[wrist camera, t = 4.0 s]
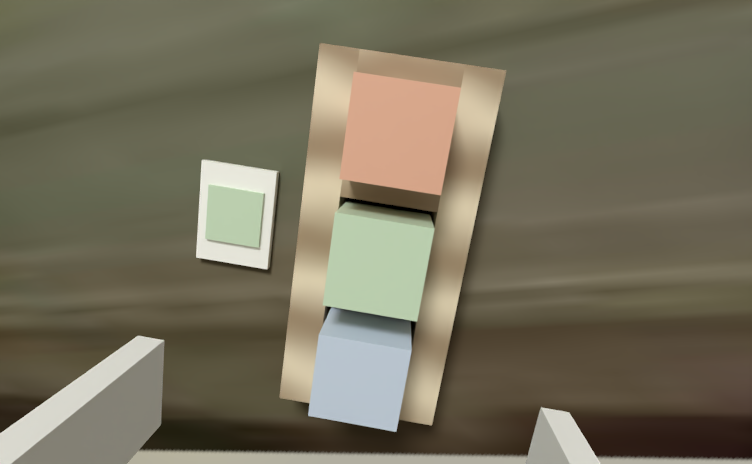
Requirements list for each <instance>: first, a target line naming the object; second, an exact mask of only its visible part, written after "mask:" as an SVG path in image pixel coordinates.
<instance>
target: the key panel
mask: <svg viewBox="0 0 752 464" xmlns="http://www.w3.org/2000/svg"><path fill="white" fill-rule="evenodd" d="M353 72H360V73H366V74H373V75H380V76H386V77H393V78H400V79H406V80H413V81H420V82H426V83H433V84H440V85H446V86H453V87H460V88H461V91H460V97H459V102H458V107H457V113H456V118H455V123H454V129H453V134H452V139H451V145H450V150H449V155H448V160H447V166H446V171H445V176H444V182H443V187H442V192H441V195H435V194H429V193H423V192H417V191H411V190H404V189H398V188H392V187H386V186H379V185H373V184H367V183H361V182H355V181H348V180H342V179H339V178H340V171H341V163H342V155H343V148H344V140H345V133H346V125H347V118H348V110H349V103H350V95H351V88H352V80H353ZM505 75H506V71H505V70H499V69H492V68H485V67H478V66H472V65H465V64H458V63H451V62H444V61H438V60H431V59H424V58H417V57H411V56H404V55H397V54H390V53H384V52H377V51H370V50H363V49H357V48H350V47H343V46H336V45H330V44H323V43H320V46H319V55H318V64H317V73H316V81H315V90H314V99H313V108H312V117H311V125H310V134H309V143H308V152H307V161H306V169H305V178H304V187H303V196H302V205H301V213H300V222H299V231H298V240H297V248H296V257H295V266H294V275H293V284H292V292H291V301H290V310H289V319H288V328H287V336H286V345H285V354H284V363H283V372H282V380H281V389H280V398H284V399H289V400H294V401H300V402H305V403H310V397H311V389H312V382H313V374H314V367H315V359H316V352H317V344H318V337H319V333H320V331H321V329H322V326H323V324H324V322H325V320H326V318H327V316H328V313H329V311H330V309H331V307H329V306H323V299H324V291H325V284H326V276H327V269H328V261H329V254H330V246H331V239H332V231H333V223H334V216H335V212H336V211H337V210H338V209H339V208H340V207H341V206H342V205H343V204H344V203H345V202H346V201H347V198H352V199H359V200H365V201H371V202H377V203H383V204H389V205H395V206H402V207H408V208H414V209H420V210H426V211H432V216H431V219H432V222H433V225H434V228H435V229H434V235H433V240H432V245H431V251H430V256H429V261H428V267H427V272H426V277H425V282H424V288H423V293H422V298H421V304H420V309H419V314H418V320H417V322H416V321H412V324H411V345H412V351H411V357H410V362H409V367H408V373H407V378H406V383H405V389H404V394H403V399H402V404H401V410H400V415H399V420H404V421H409V422H415V423H420V424H426V425H431V426H432V423H433V418H434V413H435V408H436V404H437V399H438V394H439V389H440V384H441V380H442V375H443V370H444V365H445V361H446V356H447V351H448V346H449V342H450V337H451V332H452V327H453V322H454V318H455V313H456V308H457V303H458V299H459V294H460V289H461V284H462V280H463V275H464V270H465V265H466V260H467V256H468V251H469V246H470V241H471V237H472V232H473V227H474V222H475V218H476V213H477V208H478V203H479V199H480V194H481V189H482V184H483V179H484V175H485V170H486V165H487V160H488V156H489V151H490V146H491V141H492V137H493V132H494V127H495V122H496V117H497V113H498V108H499V103H500V98H501V94H502V89H503V84H504V79H505Z"/></svg>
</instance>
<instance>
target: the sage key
mask: <svg viewBox="0 0 752 464" xmlns="http://www.w3.org/2000/svg"><path fill="white" fill-rule="evenodd" d="M434 229H435V228H434V225H433V222H432V219H431V217H430V215H429V214H423V213H417V212H410V211H404V210H398V209H392V208H386V207H380V206H374V205H367V204H361V203H355V202H349V201H347V202H345V203H344V204H343V205H342V206H341V207H340V208H339V209H338V210H337V211H336V212H335V216H334V223H333V231H332V239H331V246H330V254H329V261H328V269H327V276H326V284H325V291H324V299H323V306H329V307H335V308H341V309H346V310H352V311H358V312H364V313H370V314H375V315H381V316H387V317H393V318H398V319H404V320H410V321H416V322H417V320H418V314H419V309H420V304H421V298H422V293H423V288H424V282H425V277H426V272H427V267H428V261H429V256H430V251H431V245H432V240H433V235H434Z"/></svg>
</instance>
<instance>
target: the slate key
mask: <svg viewBox="0 0 752 464" xmlns="http://www.w3.org/2000/svg"><path fill="white" fill-rule="evenodd" d="M411 351H412V345H411V321H410V320H404V319H398V318H393V317H387V316H381V315H375V314H370V313H364V312H358V311H352V310H346V309H341V308H335V307H331V309H330V311H329V313H328V316H327V318H326V320H325V322H324V324H323V326H322V329H321V331H320V333H319V337H318V344H317V352H316V359H315V367H314V374H313V382H312V389H311V397H310V405H309V412H308V416H312V417H318V418H323V419H329V420H334V421H340V422H345V423H350V424H356V425H361V426H367V427H372V428H378V429H383V430H388V431H394V432H396V431H397V426H398V420H399V415H400V410H401V404H402V399H403V394H404V389H405V383H406V378H407V373H408V367H409V362H410V357H411Z"/></svg>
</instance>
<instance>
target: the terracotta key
mask: <svg viewBox="0 0 752 464" xmlns="http://www.w3.org/2000/svg"><path fill="white" fill-rule="evenodd" d="M460 91H461V88H460V87H453V86H446V85H440V84H433V83H426V82H420V81H413V80H406V79H400V78H393V77H386V76H380V75H373V74H366V73H360V72H353V80H352V88H351V95H350V103H349V110H348V118H347V125H346V133H345V140H344V148H343V155H342V163H341V171H340V178H339V179H342V180H348V181H355V182H361V183H367V184H373V185H379V186H386V187H392V188H398V189H404V190H411V191H417V192H423V193H429V194H435V195H441V192H442V187H443V182H444V176H445V171H446V166H447V160H448V155H449V150H450V145H451V139H452V134H453V129H454V123H455V118H456V113H457V107H458V102H459V97H460Z"/></svg>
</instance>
